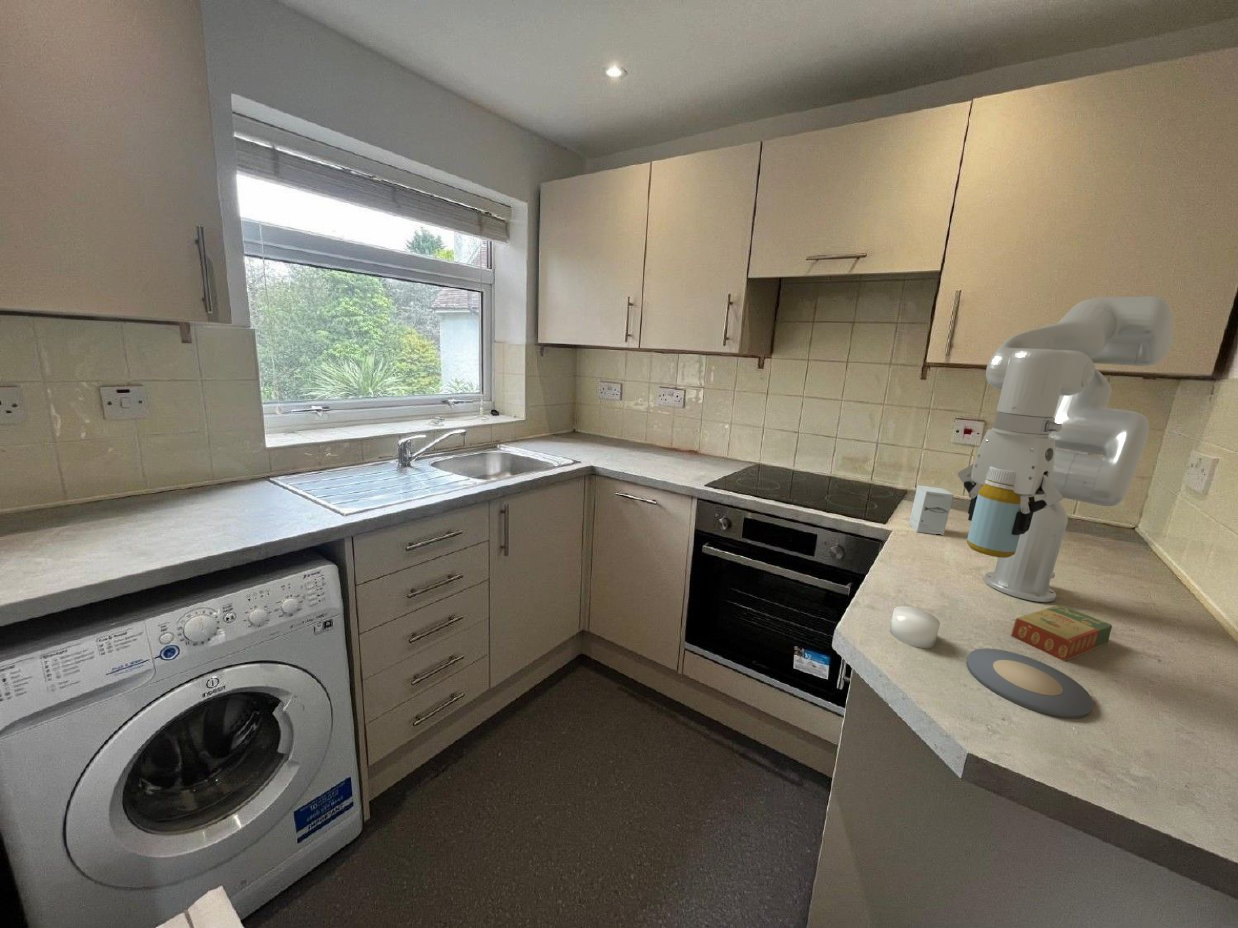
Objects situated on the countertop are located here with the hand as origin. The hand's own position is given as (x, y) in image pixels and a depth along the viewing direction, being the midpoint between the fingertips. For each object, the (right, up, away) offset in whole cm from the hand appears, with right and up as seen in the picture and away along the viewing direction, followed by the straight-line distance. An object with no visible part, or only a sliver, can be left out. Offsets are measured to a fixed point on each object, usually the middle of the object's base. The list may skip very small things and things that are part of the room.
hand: (995, 525), depth 87 cm
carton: (+14, -22, +3) cm, 26 cm away
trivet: (-4, -23, -11) cm, 25 cm away
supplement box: (+25, -9, +60) cm, 66 cm away
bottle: (0, -5, +1) cm, 5 cm away
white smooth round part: (-15, -19, 0) cm, 24 cm away
